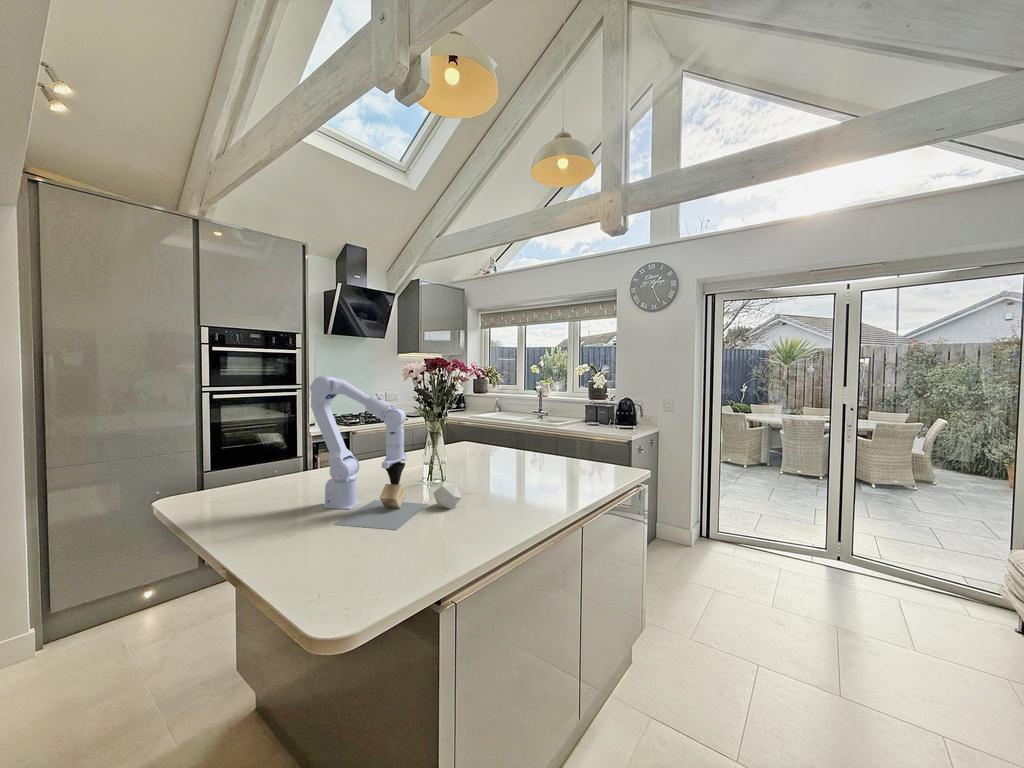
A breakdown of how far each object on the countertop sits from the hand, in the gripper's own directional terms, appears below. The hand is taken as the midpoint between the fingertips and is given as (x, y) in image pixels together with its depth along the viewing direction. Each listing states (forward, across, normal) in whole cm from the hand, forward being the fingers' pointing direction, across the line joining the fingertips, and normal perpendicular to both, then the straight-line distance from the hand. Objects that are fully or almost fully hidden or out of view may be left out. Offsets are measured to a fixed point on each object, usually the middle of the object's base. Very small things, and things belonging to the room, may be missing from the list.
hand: (395, 485), depth 142 cm
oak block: (+5, 0, 0) cm, 5 cm away
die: (+8, +4, -17) cm, 19 cm away
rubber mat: (+7, -7, 0) cm, 10 cm away
